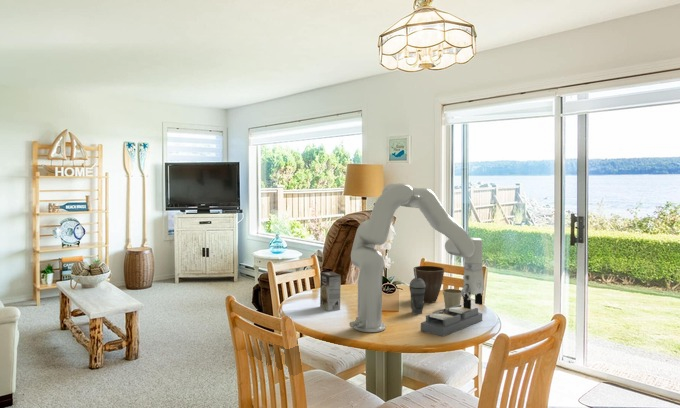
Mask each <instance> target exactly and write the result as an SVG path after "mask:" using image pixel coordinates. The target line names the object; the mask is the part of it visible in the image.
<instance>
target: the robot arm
mask: <svg viewBox="0 0 680 408" xmlns="http://www.w3.org/2000/svg"><path fill="white" fill-rule="evenodd" d="M399 207H406V208H413V209H414V208H415V209H419V211H420V212H421V213H422V215H423V216H424V218H425V219H426V221H427V222H428V223H429V226H431V227H432V228H433V230H435V231H437V232H439V233H441V234H442V235H444V236H445V237H446V238H447V240H446V241H445V243H444V250H445V251H446V252H447V254H449V255H451V256H455V257H460V258H463V271H464V273H463V283H462V284H463V285H462V287H463V288H462V289H460V290H461V292H462V296H461V297H462V299H463V300H462V301H463V304H462V305H463V306H462V307H464V308H468V309H472V299H471V298H472V295H473V296H474V304H475V305H479V306H482V305H483V295H484V291H485V284H484V283H485V279H484V277H485V276H484V271H483V246H484V245H483V239H481V238H480V237H471V236H470V235H469V234H468V232H467V231H466V229H465V228H463V227H462V225H460V224H459V223H458V222H457V221H456V220H455V219H454V218H453V217H452V216H450V215H449V213H448V212H447V210H446V209H445V207H444V206H443V205H442V203H441V201H440V200H439V199H438V197H437V195H436V194H435V193H434V191H432V190H431V189H429V188H427V187H426V188H425V187H423V188H422V187H412V186H411V185H410V184H407V183H389V184H387V185H385V186H384V187H383V189H382V193H381V194H380V195H379V197H377V199H376V201H375V203H374V205H373V207H372V210H371V214H370V217H369V219H366V220H364V221H362V222H361V223H360V224H359V225H358V227H357V229H356V232H355V236H354V239H353V244H352V247H351V251H350V260H351V263H352V265H353V266H354V267H355V268H357V269H359V273H358V277H357V317H355V320H354V321H350V322H349V323H348V325H349V327H350V328H353V329H354V330H356V331H359V332H362V333H363V332H364V333H377V332H383V331H385V330H386V324H385V323H384V322H382V321H383V320H382V315H383V313H382V312H383V309H382V307H383V305H382V303H383V275H384V274H383V273H384V268H385V259H384V256H383V254H382V253H381V252H380V251H379V250H378V249H376V248H375V246H382V245H383V244H385V243H386V242H387V239H388V236H389V232H390V229H391V225H392V221H393V217H394V215H395V212H396V211H397V210H398V208H399Z"/></svg>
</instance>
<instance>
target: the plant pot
mask: <svg viewBox="0 0 680 408" xmlns="http://www.w3.org/2000/svg"><path fill="white" fill-rule="evenodd" d="M412 268H413V274H414V275H413V276H414V277H415V268H416V276H417V278H421V279H422V280H423V281H424V282H425V286H426V288H425V293H424V303H435V302H437V300H438V297H439V295H440V292H441V289H442V285H443V280H444V275H445V268H444V267H441V266H435V265H418V266H415V267H414V266H413V267H412Z"/></svg>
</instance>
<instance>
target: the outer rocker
mask: <svg viewBox="0 0 680 408" xmlns="http://www.w3.org/2000/svg"><path fill="white" fill-rule="evenodd" d="M472 309H473V308H471V309H468V308H464V307H463V306H461V307H455V308H449V311H451V312H456V313H460V314H462V313H464V312H466V311H469V310H472Z"/></svg>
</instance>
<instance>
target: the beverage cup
mask: <svg viewBox="0 0 680 408" xmlns="http://www.w3.org/2000/svg"><path fill="white" fill-rule="evenodd" d="M408 287H409V291H410V305H411V313H412V314H415V315H422V314H423V310H424V303H425V302H424V293H425V288H426V286H425V282H424V281H423V280H422V279H421V278H417V276H416V268H415V276H414V278H413V279H411V281H410V282H409V286H408Z"/></svg>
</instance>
